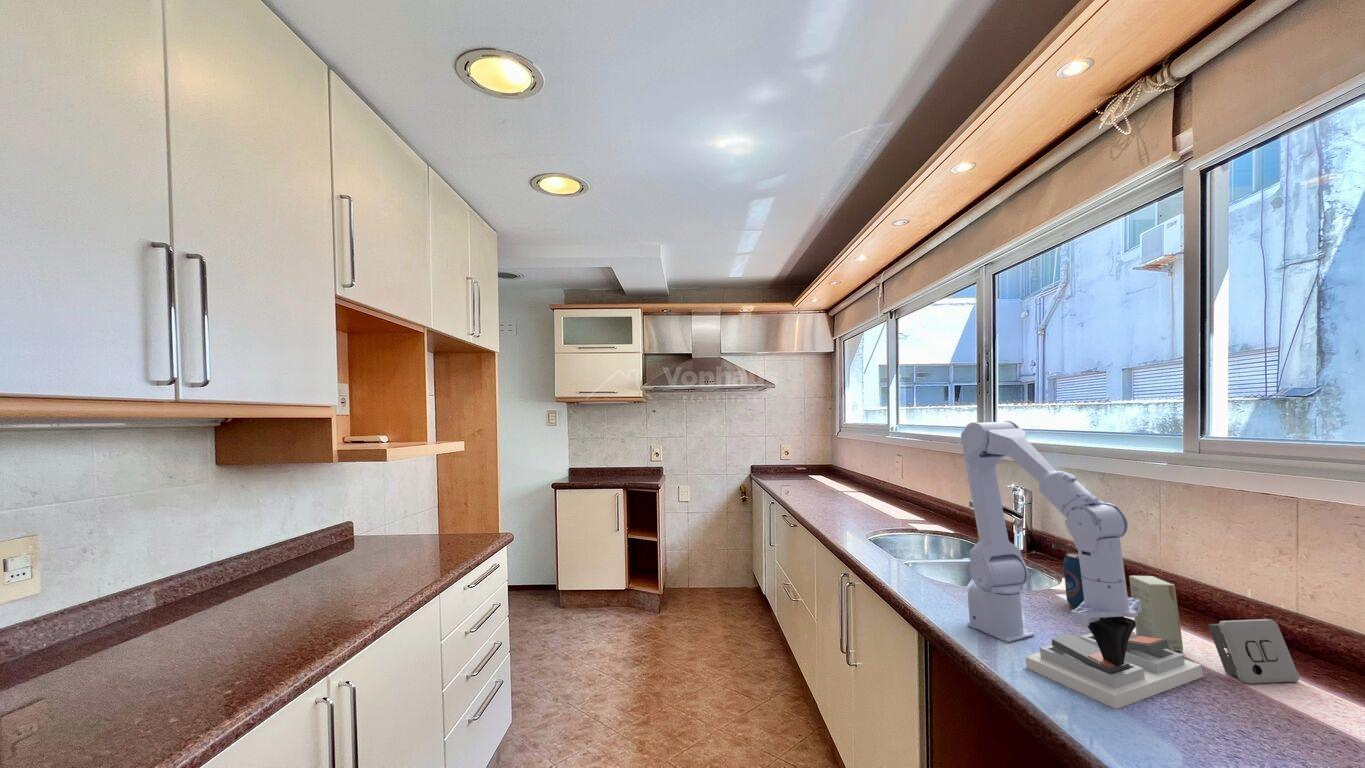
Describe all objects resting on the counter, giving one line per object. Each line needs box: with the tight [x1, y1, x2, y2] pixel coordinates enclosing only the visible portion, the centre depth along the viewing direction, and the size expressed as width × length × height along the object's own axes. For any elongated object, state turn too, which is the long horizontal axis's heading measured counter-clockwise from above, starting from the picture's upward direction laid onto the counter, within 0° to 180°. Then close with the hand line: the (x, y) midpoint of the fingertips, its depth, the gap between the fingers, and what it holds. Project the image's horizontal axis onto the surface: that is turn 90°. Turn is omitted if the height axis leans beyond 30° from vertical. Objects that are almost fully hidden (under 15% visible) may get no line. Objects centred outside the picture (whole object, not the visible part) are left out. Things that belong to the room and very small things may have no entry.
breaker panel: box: [1025, 633, 1204, 710], centre depth 87 cm, size 14×23×4 cm, turn 110°
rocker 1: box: [1051, 633, 1129, 675], centre depth 86 cm, size 9×5×1 cm, turn 20°
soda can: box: [1062, 551, 1084, 610], centre depth 115 cm, size 7×7×12 cm
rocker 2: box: [1092, 634, 1169, 653], centre depth 89 cm, size 9×5×1 cm, turn 20°
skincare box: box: [1128, 575, 1184, 652], centre depth 97 cm, size 6×4×12 cm
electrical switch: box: [1207, 618, 1300, 685], centre depth 85 cm, size 9×5×9 cm, turn 90°
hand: (1113, 663), depth 82 cm, fingers closed, pressing on rocker 1
